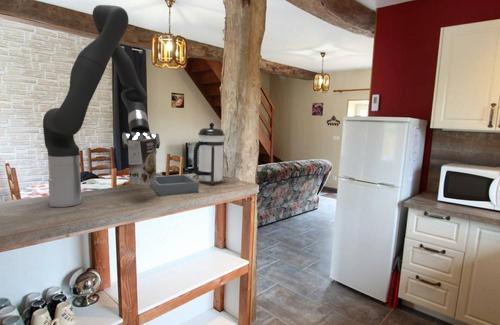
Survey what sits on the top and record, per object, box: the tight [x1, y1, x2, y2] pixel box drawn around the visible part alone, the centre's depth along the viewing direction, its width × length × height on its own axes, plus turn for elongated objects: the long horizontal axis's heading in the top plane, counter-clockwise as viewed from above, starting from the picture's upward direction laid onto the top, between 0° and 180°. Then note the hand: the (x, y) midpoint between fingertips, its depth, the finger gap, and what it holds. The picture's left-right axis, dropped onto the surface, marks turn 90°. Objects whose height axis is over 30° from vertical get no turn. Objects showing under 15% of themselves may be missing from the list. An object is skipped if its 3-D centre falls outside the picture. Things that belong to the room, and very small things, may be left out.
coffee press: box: [192, 122, 226, 186], centre depth 143 cm, size 17×16×30 cm
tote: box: [149, 174, 199, 197], centre depth 129 cm, size 17×19×4 cm
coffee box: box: [127, 138, 157, 186], centre depth 109 cm, size 9×6×16 cm
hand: (143, 155), depth 111 cm, fingers closed on coffee box, 7 cm apart
